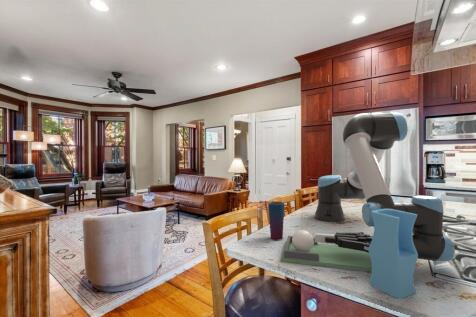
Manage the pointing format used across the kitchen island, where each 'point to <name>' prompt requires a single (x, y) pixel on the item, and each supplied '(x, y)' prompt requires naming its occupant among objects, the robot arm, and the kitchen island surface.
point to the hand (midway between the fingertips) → (314, 237)
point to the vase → (393, 252)
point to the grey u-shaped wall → (299, 252)
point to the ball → (302, 241)
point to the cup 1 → (276, 219)
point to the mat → (335, 257)
